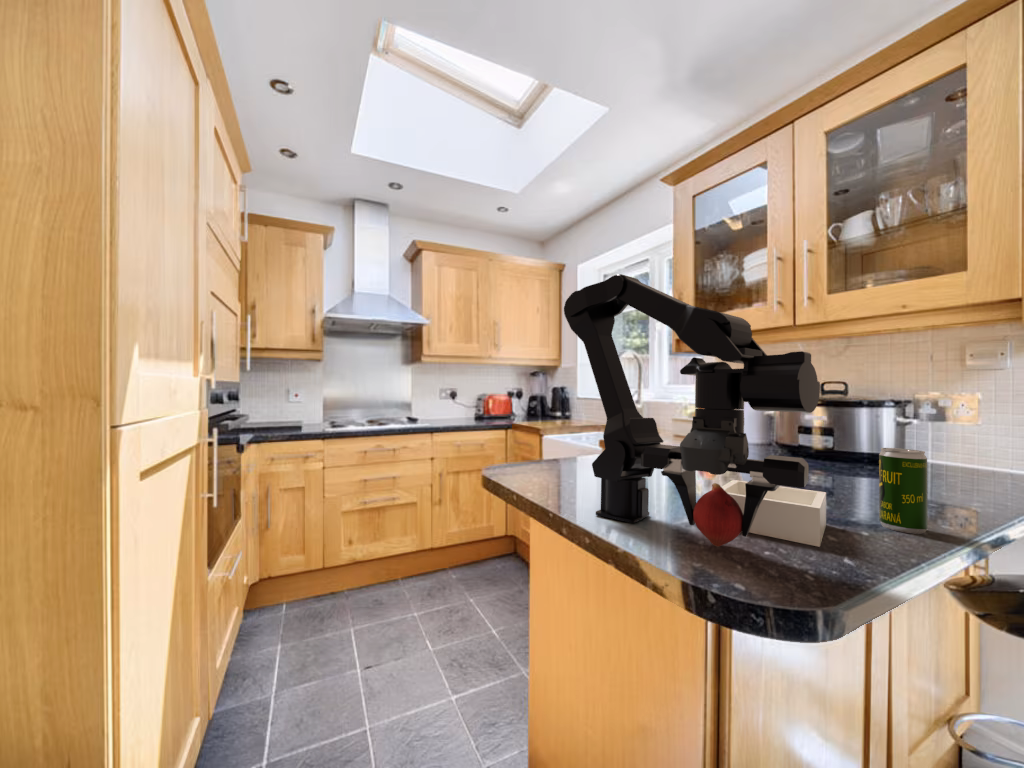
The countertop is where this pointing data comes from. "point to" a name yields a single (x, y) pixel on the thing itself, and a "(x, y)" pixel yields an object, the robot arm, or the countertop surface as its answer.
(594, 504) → the countertop surface
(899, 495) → the green soda can
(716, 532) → the onion
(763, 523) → the bin
